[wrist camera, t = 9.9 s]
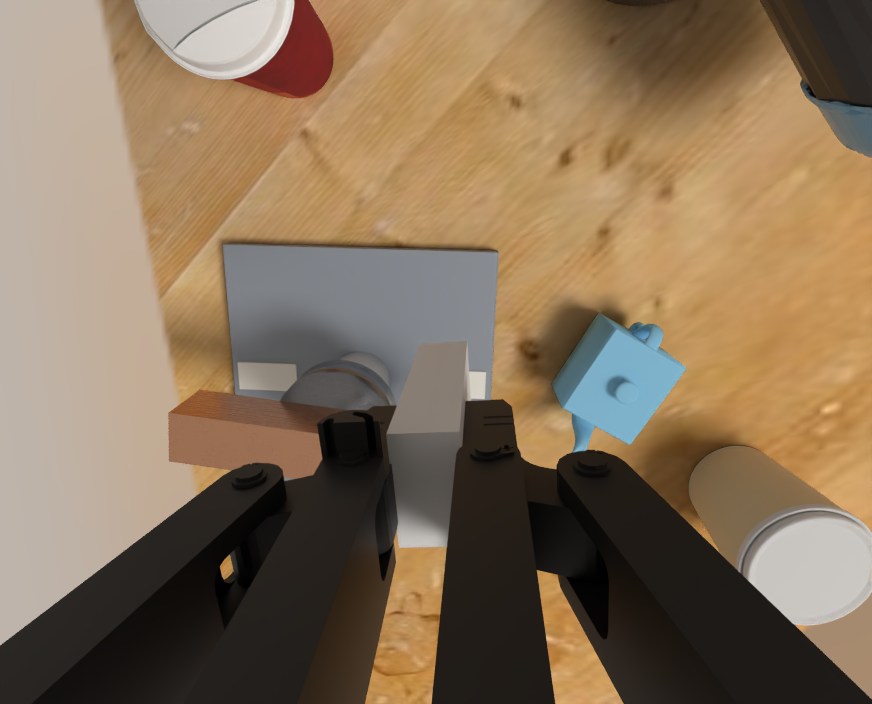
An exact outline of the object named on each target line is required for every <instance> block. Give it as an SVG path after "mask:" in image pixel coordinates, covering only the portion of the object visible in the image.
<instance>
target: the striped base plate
mask: <svg viewBox="0 0 872 704" xmlns="http://www.w3.org/2000/svg"><path fill="white" fill-rule="evenodd" d="M223 253H224V265H225V277H226V289H227V301H228V313H229V325H230V336H231V348H232V360H233V372H234V384H235V395H242V396H250V397H257V398H264V399H271V400H278V401H280V400H281V398H282V396H283V395H284V394H285V393H286V391H287V390H288V389H289V388H290V387H291V386H292V385H293V384H294V382H295V381H296V380H297V379H298V378H299V377H300V376H301V375H302V374H303V373H304V372H305V371H307V370H308V369H310V368H311V367H313V366H315V365H317V364H319V363H323V362H326V361H332V360H346V361H352V362H356V363H359V364H362V365H364V366H366V367H368V368H370V369H371V370H373V371H374V372H376V373H377V374H378V375H379V376H380V377H381V378H382V379H383V380H384V381H385V382H386V383H387V385H388V386H389V388H390V389H391V391H392V393H393V395H394V398H395V400H396V404H398V401H399V399H400V396H401V394H402V391H403V388H404V386H405V383H406V380H407V378H408V375H409V372H410V370H411V367H412V364H413V362H414V359H415V356H416V354H417V351H418V348H419V346H420V344H423V343H442V342H461V341H467V345H468V361H469V377H470V393H471V401H478V400H490V399H491V381H492V362H493V344H494V326H495V308H496V290H497V271H498V251H489V250H454V249H419V248H385V247H350V246H316V245H281V244H246V243H228V244H224V245H223ZM284 480H285V481H287V480H292V479H290V478H284Z"/></svg>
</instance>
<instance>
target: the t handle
mask: <svg viewBox="0 0 872 704" xmlns="http://www.w3.org/2000/svg"><path fill="white" fill-rule="evenodd" d="M393 405H397V404H396V400H395V398H394V395H393V393H392V391H391V389H390V388H389V386H388V385H387V383H386V382H385V381H384V380H383V379H382V378H381V377H380V376H379V375H378V374H377V373H376V372H374V371H373V370H371V369H370V368H368V367H366V366H364V365H362V364H359V363H356V362H352V361H346V360H332V361H326V362H323V363H319V364H317V365H315V366H313V367H311V368H310V369H308V370H307V371H305V372H304V373H303V374H302V375H301V376H300V377H299V378H298V379H297V380H296V381H295V382H294V384H293V385H292V386H291V387H290V388H289V389H288V390H287V391H286V393H285V394H284V395H283V396H282V398H281V400H280V401H278V400H271V399H264V398H257V397H250V396H242V395H235V394H228V393H221V392H214V391H207V390H199V391H197V392H196V393H195V394H193V395H192V396H191V397H189V398H188V399H187V400H185V401H184V402H183V403H181V404H180V405H178V406H177V407H176V408H174V409H173V410H172V411H170V412H169V461H171V462H178V463H185V464H192V465H199V466H206V467H213V468H220V469H227V470H234V469H237V468H240V467H242V466H243V465H246V464H252V463H271V464H275V465H278V466H279V467H280V468H281V469H283V475H284V478H290V479H297V478H302V477H306V476H310V475H314V473H315V471H316V469H317V467H318V466H319V464H320V462H321V460H322V454H321V447H320V441H319V434H318V428H317V423H318V422H319V421H320V420H321V419H322V418H324V417H327V416H329V415H331V414H334V413H337V412H341V411H347V410H368V409H370V408H371V407H372V406H393Z"/></svg>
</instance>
